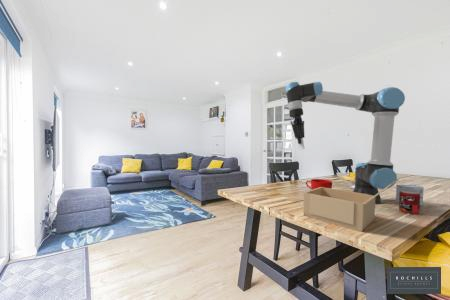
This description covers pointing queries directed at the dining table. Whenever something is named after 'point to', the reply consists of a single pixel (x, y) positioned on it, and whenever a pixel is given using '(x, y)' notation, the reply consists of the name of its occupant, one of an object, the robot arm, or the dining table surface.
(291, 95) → the robot arm
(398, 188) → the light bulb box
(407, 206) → the canned food
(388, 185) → the carton flap
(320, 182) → the ceramic cup
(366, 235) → the dining table surface
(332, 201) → the carton
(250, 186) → the dining table surface
